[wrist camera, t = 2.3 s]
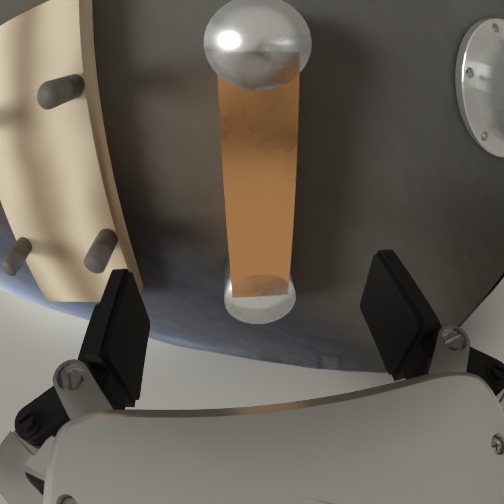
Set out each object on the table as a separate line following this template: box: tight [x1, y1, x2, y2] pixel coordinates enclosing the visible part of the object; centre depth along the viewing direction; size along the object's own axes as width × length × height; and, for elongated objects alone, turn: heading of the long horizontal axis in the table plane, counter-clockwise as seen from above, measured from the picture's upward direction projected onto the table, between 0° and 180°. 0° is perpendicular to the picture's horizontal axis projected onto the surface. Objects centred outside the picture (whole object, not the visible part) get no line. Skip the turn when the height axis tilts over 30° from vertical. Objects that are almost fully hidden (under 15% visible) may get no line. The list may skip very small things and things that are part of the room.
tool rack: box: [0, 0, 144, 302], centre depth 16 cm, size 10×24×5 cm, turn 1°
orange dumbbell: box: [204, 0, 312, 324], centre depth 19 cm, size 5×22×4 cm, turn 1°
